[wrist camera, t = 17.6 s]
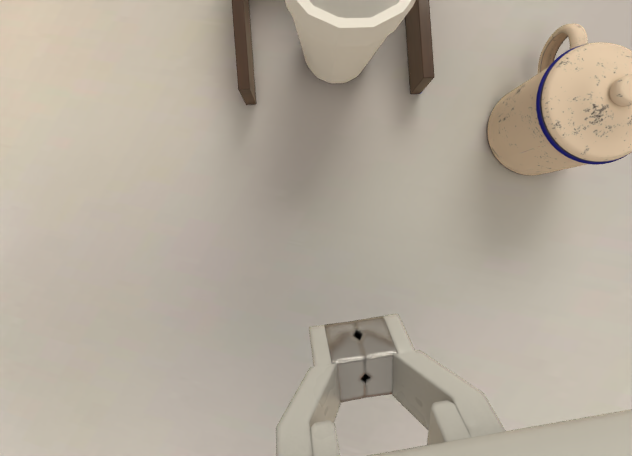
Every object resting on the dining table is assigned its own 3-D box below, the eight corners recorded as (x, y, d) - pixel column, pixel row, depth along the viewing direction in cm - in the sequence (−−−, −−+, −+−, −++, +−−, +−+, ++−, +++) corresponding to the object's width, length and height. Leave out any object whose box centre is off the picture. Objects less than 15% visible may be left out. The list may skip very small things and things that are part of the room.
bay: (246, 104, 36) (238, 89, 32) (235, -31, 35) (227, -63, 31) (420, 93, 36) (434, 77, 32) (411, -41, 36) (424, -74, 32)
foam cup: (383, 2, 36) (427, -125, 23) (386, 97, 36) (432, 25, 23) (285, 4, 36) (273, -123, 23) (289, 100, 36) (279, 29, 23)
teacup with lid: (575, 176, 36) (702, 153, 25) (484, 180, 36) (569, 158, 25) (571, 54, 36) (696, -26, 25) (480, 57, 36) (563, -23, 24)
